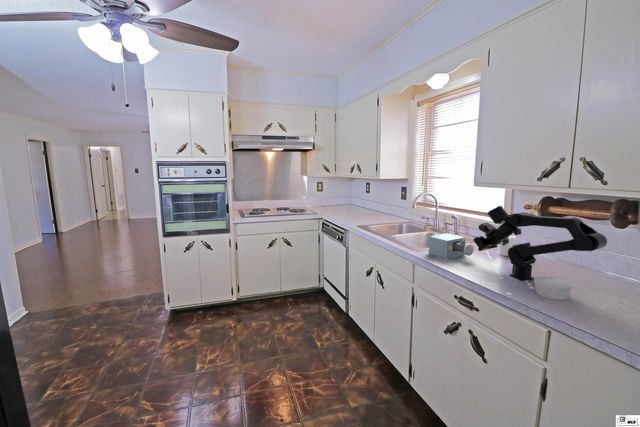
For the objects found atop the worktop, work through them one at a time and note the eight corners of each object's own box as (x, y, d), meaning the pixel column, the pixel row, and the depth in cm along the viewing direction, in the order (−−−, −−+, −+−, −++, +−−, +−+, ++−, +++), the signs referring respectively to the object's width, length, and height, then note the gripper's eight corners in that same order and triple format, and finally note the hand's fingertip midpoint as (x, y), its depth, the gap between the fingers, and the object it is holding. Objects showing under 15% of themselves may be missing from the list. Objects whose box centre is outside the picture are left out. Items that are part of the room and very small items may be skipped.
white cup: (513, 253, 160) (514, 235, 159) (515, 257, 153) (516, 238, 152) (496, 251, 164) (497, 234, 162) (497, 255, 157) (498, 237, 156)
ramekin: (550, 287, 115) (552, 275, 114) (579, 300, 104) (581, 286, 103) (525, 290, 113) (526, 277, 113) (551, 303, 102) (553, 288, 102)
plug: (473, 254, 149) (474, 243, 148) (465, 256, 147) (466, 245, 146) (450, 248, 162) (450, 237, 161) (442, 249, 159) (443, 239, 159)
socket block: (465, 255, 159) (466, 237, 157) (446, 259, 153) (447, 240, 151) (446, 250, 170) (447, 233, 168) (428, 253, 164) (429, 236, 162)
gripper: (504, 216, 140) (481, 234, 151) (478, 220, 132) (456, 238, 143) (520, 235, 134) (495, 252, 145) (493, 240, 126) (469, 258, 137)
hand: (479, 250), depth 143 cm, fingers closed
